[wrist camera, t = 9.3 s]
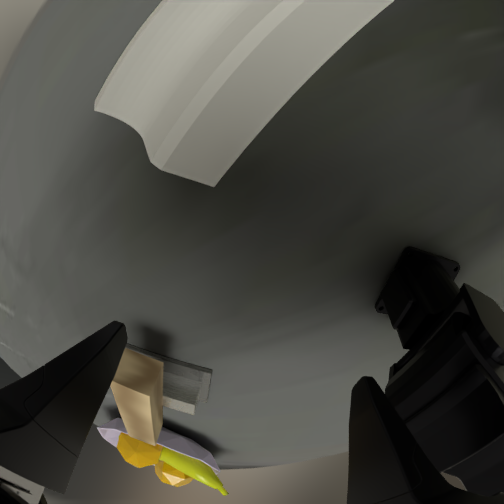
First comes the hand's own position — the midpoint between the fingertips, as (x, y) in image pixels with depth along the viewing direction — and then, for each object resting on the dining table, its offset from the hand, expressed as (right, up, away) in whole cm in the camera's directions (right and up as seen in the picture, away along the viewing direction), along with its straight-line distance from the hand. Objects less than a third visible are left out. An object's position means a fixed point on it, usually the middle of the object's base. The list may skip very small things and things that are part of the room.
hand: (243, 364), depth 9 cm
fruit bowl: (-18, -35, +37) cm, 54 cm away
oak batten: (-12, -13, +18) cm, 26 cm away
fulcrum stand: (-12, -11, +22) cm, 27 cm away
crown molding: (+3, +22, +2) cm, 22 cm away
